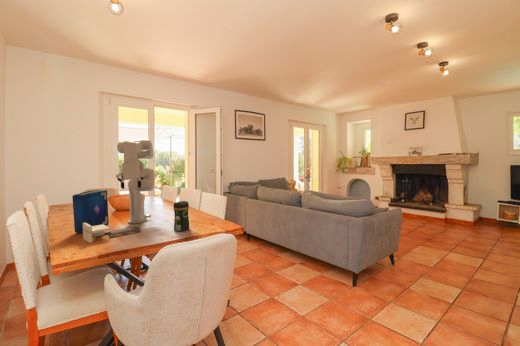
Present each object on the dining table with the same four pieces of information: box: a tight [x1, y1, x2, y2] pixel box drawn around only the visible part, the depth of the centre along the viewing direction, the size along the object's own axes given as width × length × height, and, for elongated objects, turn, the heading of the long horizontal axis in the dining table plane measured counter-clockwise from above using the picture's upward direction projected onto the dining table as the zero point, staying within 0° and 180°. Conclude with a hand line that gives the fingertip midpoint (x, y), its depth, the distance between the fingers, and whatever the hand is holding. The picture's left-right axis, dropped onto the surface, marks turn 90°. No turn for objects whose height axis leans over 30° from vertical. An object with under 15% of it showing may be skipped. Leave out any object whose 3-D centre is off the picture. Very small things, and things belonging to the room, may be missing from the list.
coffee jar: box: [173, 200, 190, 232], centre depth 165 cm, size 10×8×19 cm
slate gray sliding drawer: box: [108, 224, 141, 236], centre depth 159 cm, size 16×7×3 cm, turn 136°
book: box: [71, 189, 110, 234], centre depth 166 cm, size 22×7×25 cm, turn 168°
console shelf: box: [82, 223, 111, 244], centre depth 147 cm, size 10×12×9 cm
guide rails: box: [103, 229, 142, 239], centre depth 158 cm, size 18×10×1 cm, turn 138°
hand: (131, 188), depth 162 cm, fingers open, 9 cm apart
